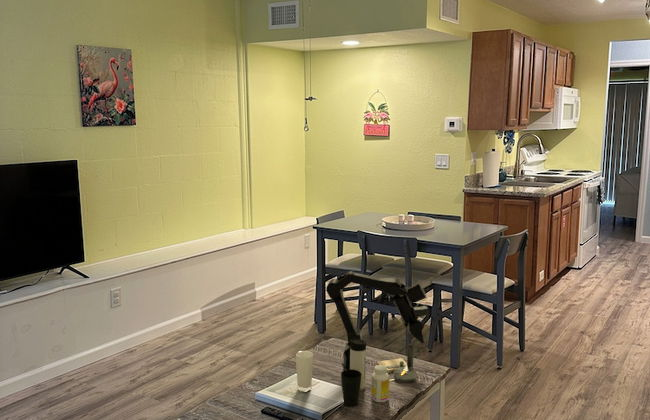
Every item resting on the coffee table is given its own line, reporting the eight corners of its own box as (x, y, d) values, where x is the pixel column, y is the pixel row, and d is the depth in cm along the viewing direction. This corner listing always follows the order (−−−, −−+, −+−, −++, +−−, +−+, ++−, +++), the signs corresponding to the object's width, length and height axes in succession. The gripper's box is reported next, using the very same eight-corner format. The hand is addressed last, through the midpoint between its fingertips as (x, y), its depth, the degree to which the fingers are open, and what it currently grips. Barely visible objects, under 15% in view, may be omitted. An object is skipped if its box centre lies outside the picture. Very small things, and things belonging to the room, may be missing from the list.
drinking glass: (305, 384, 240) (305, 349, 237) (316, 390, 235) (316, 354, 232) (292, 389, 235) (292, 353, 232) (304, 395, 230) (304, 359, 228)
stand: (385, 373, 250) (385, 365, 249) (376, 364, 258) (376, 357, 258) (410, 369, 254) (411, 362, 253) (401, 360, 262) (401, 353, 262)
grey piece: (411, 384, 240) (412, 356, 238) (390, 379, 244) (391, 352, 242) (421, 372, 251) (422, 345, 249) (400, 368, 255) (401, 341, 253)
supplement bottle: (390, 396, 230) (391, 365, 228) (386, 404, 224) (387, 372, 222) (373, 393, 233) (374, 362, 230) (369, 401, 226) (369, 369, 224)
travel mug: (346, 385, 238) (346, 338, 235) (361, 382, 241) (361, 336, 238) (353, 392, 233) (353, 344, 229) (368, 389, 235) (369, 341, 232)
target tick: (389, 381, 243) (389, 380, 242) (388, 380, 243) (388, 379, 243) (394, 380, 244) (394, 379, 243) (393, 379, 244) (393, 378, 244)
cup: (361, 399, 228) (361, 369, 226) (360, 409, 220) (361, 378, 218) (341, 398, 229) (341, 368, 226) (339, 408, 221) (340, 377, 219)
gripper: (426, 303, 239) (443, 337, 241) (416, 293, 258) (432, 325, 259) (402, 316, 239) (418, 349, 240) (393, 305, 257) (409, 336, 259)
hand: (420, 339), depth 250 cm, fingers open, 9 cm apart
